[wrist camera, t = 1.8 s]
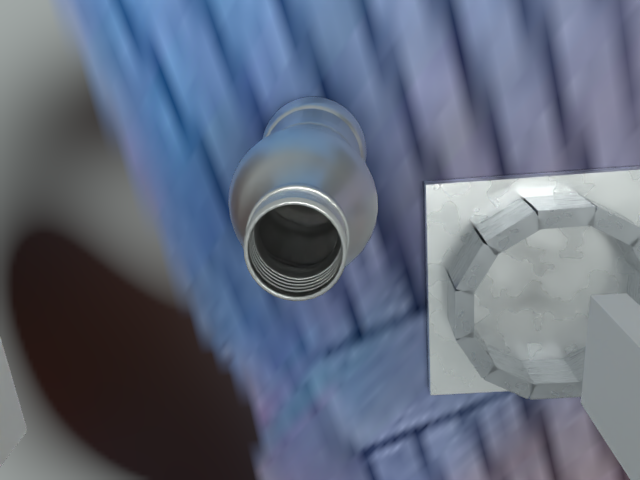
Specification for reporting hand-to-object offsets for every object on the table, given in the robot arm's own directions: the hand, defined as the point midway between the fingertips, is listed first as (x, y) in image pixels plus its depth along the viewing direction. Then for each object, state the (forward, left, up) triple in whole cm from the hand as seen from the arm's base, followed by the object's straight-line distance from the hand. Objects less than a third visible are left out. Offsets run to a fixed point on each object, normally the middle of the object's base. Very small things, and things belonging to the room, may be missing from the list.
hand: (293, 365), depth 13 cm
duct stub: (-11, -15, -27) cm, 33 cm away
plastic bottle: (0, 0, -28) cm, 28 cm away
